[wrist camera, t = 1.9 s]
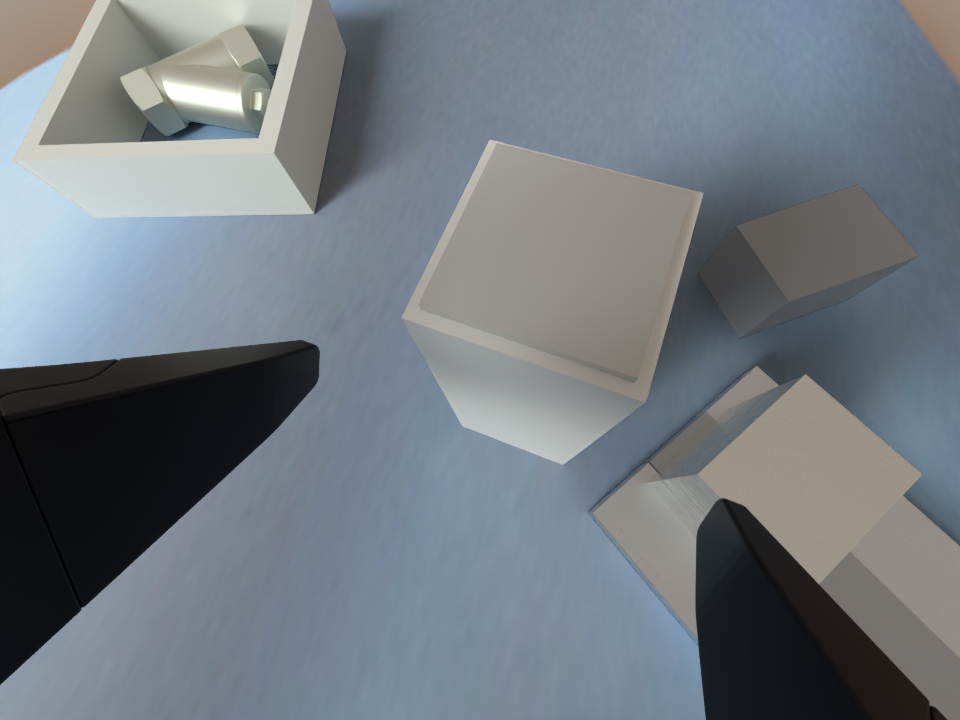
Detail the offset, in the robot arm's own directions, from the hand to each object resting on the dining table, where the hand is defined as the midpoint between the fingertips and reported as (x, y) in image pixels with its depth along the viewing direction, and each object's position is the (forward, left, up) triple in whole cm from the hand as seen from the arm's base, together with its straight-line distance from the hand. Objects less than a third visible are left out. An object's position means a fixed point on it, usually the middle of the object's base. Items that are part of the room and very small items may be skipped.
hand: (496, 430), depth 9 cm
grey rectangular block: (+14, +10, -11) cm, 20 cm away
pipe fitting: (-19, +23, -11) cm, 31 cm away
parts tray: (-18, +22, -11) cm, 30 cm away
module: (+1, +4, -11) cm, 11 cm away
